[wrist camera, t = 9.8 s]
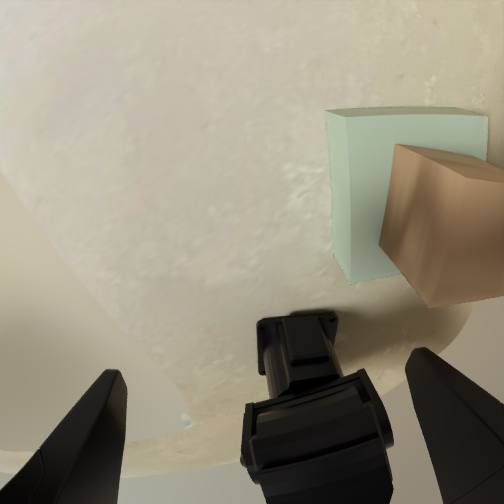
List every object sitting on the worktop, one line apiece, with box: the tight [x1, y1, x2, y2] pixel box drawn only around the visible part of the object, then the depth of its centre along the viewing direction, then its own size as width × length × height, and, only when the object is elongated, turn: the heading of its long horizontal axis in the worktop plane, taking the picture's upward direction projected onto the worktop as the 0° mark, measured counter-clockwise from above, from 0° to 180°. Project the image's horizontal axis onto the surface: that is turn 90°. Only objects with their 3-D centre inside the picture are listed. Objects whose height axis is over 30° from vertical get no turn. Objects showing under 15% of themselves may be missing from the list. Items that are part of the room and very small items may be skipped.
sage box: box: [324, 107, 488, 285], centre depth 18 cm, size 10×10×4 cm
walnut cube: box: [379, 144, 504, 308], centre depth 14 cm, size 6×6×6 cm
